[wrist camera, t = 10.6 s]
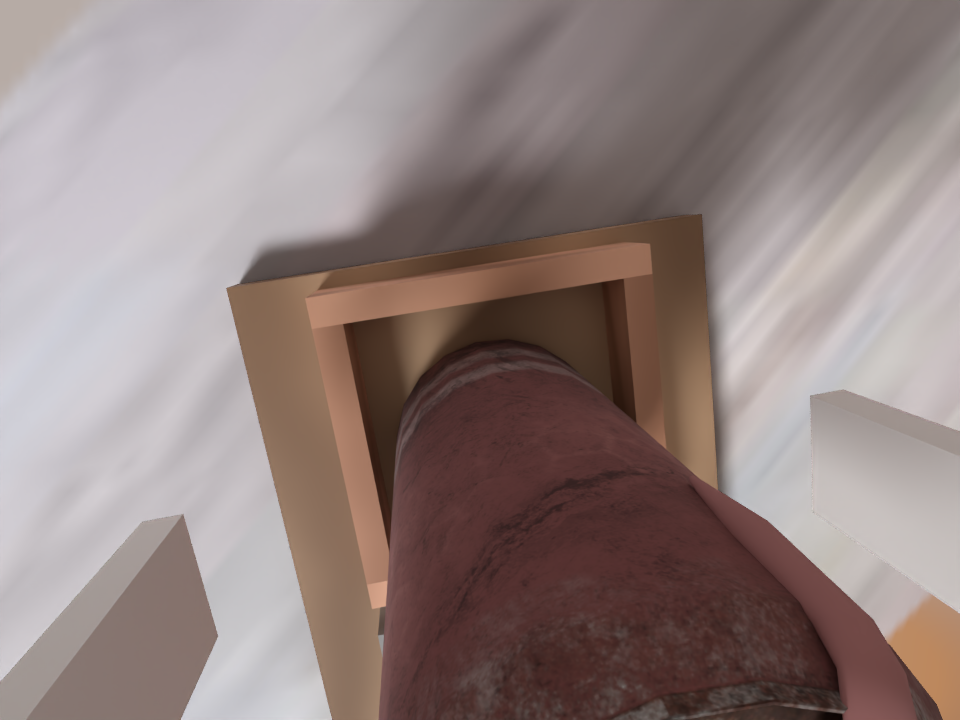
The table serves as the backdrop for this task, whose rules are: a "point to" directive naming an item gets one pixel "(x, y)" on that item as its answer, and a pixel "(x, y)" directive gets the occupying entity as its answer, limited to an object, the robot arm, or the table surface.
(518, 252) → the board
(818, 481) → the robot arm
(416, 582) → the can
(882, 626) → the table surface
